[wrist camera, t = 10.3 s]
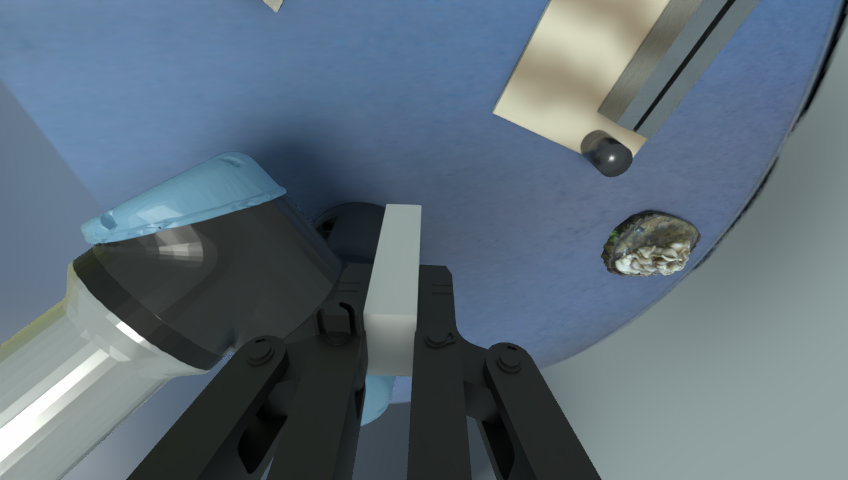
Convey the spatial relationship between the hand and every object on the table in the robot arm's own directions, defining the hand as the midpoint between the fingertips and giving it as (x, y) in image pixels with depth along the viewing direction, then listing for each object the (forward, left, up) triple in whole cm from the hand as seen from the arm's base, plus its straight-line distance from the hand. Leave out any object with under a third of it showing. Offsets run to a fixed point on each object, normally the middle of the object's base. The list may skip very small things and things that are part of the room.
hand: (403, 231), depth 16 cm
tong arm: (+12, -21, -25) cm, 35 cm away
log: (-11, -34, -27) cm, 45 cm away
